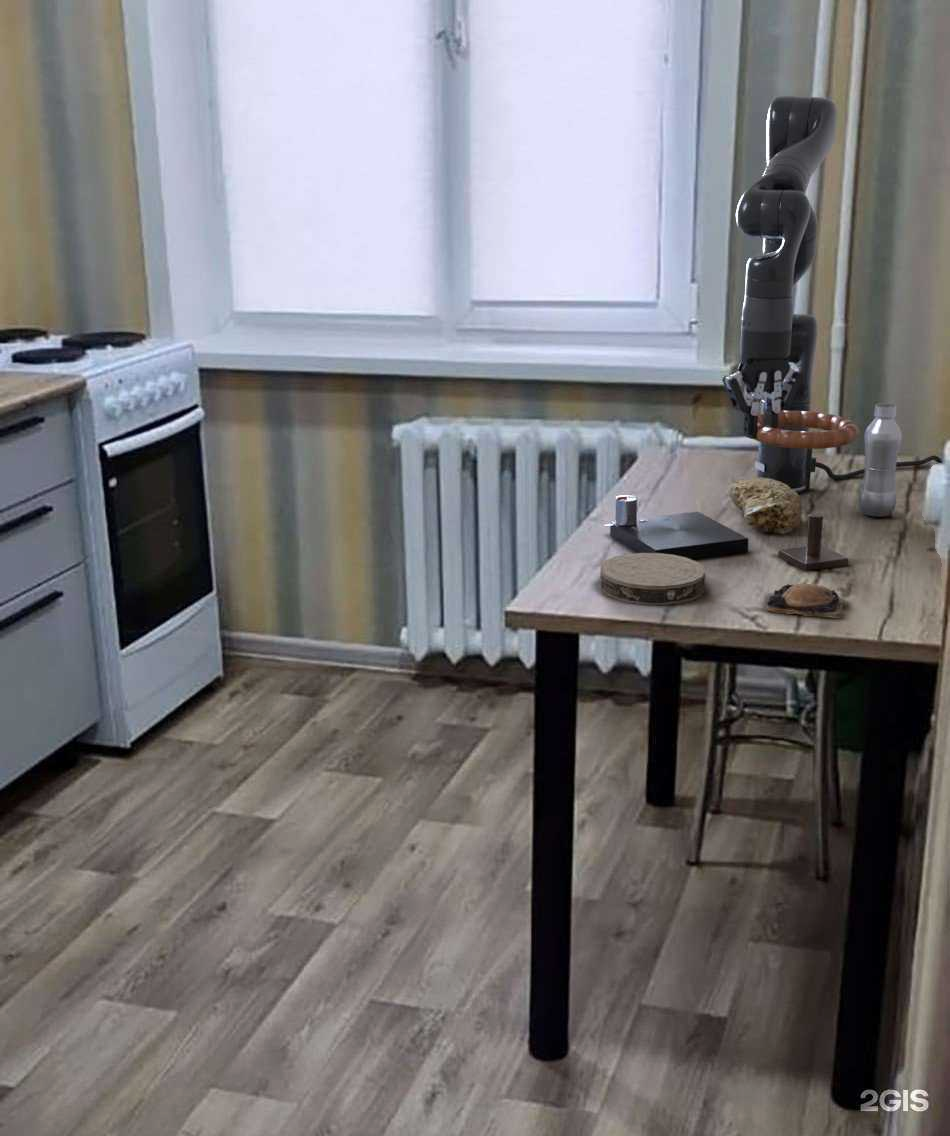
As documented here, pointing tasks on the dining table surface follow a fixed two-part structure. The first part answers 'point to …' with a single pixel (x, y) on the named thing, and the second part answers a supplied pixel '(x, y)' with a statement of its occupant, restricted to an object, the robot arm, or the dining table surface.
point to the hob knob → (626, 510)
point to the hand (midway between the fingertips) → (760, 436)
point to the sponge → (767, 504)
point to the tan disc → (652, 578)
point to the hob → (681, 536)
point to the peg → (813, 550)
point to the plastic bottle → (880, 462)
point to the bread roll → (806, 601)
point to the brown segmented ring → (836, 436)
